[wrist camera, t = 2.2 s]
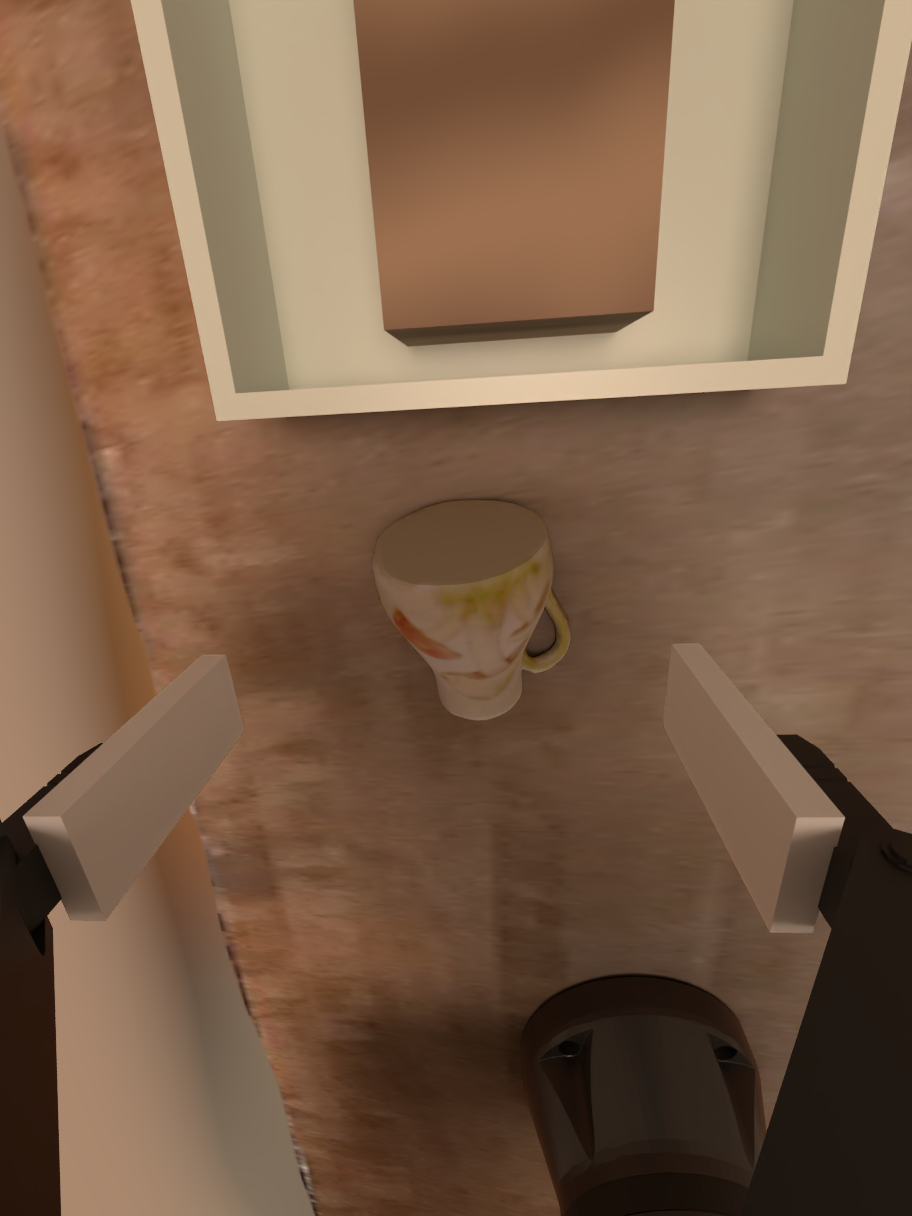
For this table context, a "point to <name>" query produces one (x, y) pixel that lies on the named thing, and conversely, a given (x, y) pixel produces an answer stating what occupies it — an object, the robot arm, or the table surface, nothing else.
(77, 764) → the robot arm
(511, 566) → the mug
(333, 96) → the tote
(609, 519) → the table surface
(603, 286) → the walnut block
